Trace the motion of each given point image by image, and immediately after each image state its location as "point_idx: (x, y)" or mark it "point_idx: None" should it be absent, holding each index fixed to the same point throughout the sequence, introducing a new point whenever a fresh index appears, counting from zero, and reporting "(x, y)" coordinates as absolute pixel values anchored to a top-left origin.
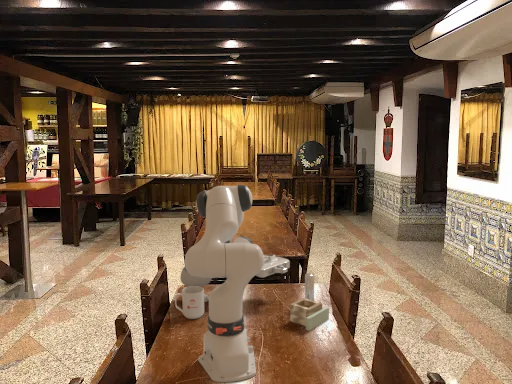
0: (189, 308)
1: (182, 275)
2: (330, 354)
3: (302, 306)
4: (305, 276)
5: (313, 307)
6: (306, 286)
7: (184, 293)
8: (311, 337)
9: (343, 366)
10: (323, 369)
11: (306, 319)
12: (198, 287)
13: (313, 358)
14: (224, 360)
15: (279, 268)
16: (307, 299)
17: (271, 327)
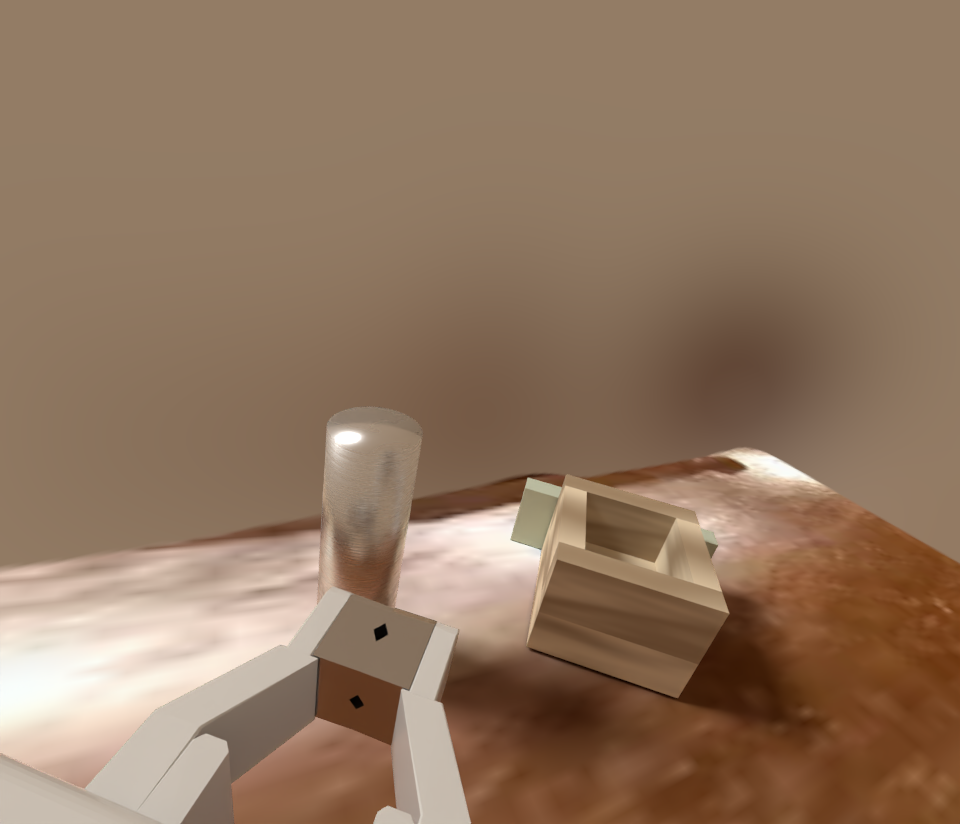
0: None
1: None
2: (755, 506)
3: (686, 544)
4: (407, 459)
5: (648, 499)
6: (403, 531)
7: None
8: (722, 565)
9: (771, 481)
10: (837, 514)
11: (713, 549)
12: None
13: (827, 541)
14: None
15: (420, 724)
16: (567, 535)
17: (862, 808)
